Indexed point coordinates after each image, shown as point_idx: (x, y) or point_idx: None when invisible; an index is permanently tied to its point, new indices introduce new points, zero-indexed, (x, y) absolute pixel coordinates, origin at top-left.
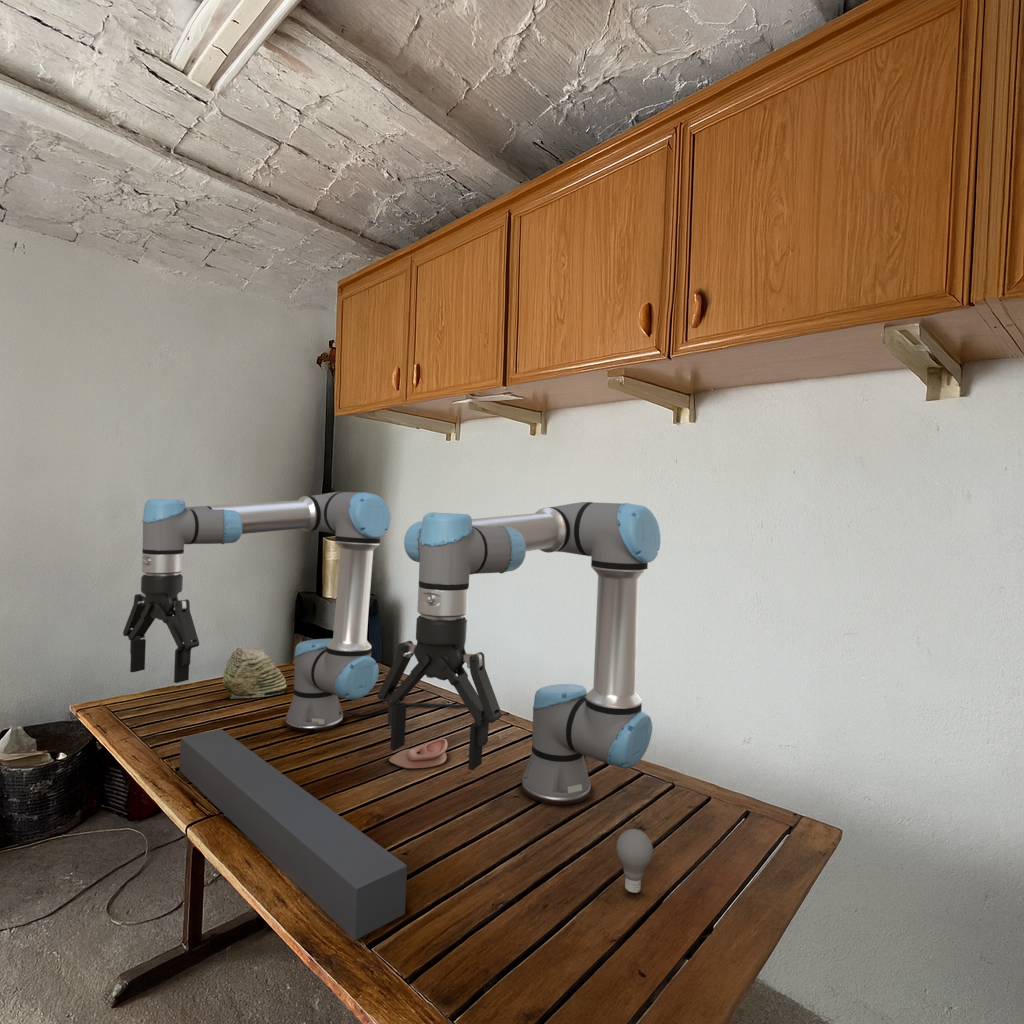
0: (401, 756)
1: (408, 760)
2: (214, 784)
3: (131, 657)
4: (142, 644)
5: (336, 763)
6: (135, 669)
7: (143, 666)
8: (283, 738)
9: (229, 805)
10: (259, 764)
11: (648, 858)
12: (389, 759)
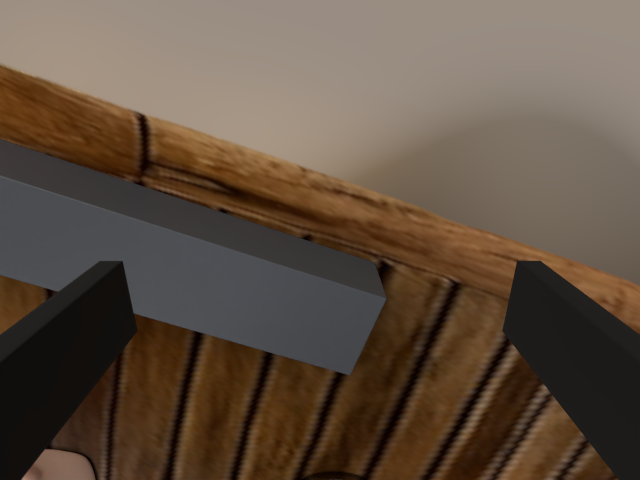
0: (56, 470)
1: (34, 464)
2: (168, 211)
3: (598, 312)
4: (632, 460)
5: (152, 413)
6: (520, 285)
7: (514, 336)
8: (324, 442)
9: (88, 179)
10: None
11: None
12: (82, 458)
